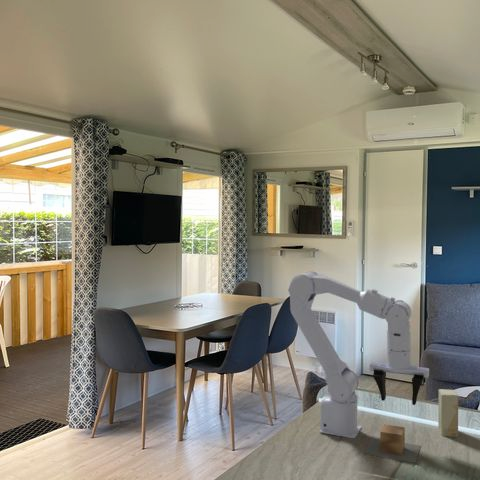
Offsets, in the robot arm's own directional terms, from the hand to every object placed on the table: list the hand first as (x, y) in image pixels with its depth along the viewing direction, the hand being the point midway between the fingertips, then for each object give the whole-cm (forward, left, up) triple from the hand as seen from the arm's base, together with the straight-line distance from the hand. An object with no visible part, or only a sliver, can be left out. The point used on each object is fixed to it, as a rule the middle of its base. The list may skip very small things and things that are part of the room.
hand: (398, 401), depth 139 cm
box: (+11, +10, -10) cm, 18 cm away
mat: (0, -7, -10) cm, 12 cm away
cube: (0, -7, -10) cm, 12 cm away
